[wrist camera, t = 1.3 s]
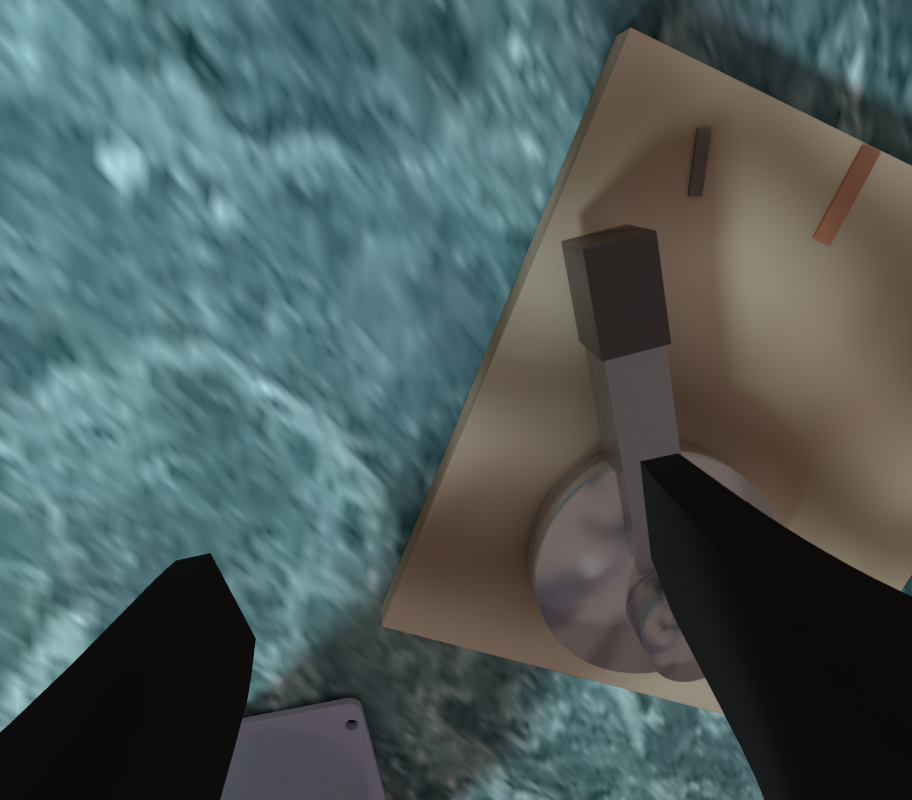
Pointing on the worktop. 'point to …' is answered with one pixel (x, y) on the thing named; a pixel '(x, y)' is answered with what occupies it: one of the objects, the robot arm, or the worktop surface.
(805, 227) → the dial board
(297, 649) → the worktop surface
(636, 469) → the dial
